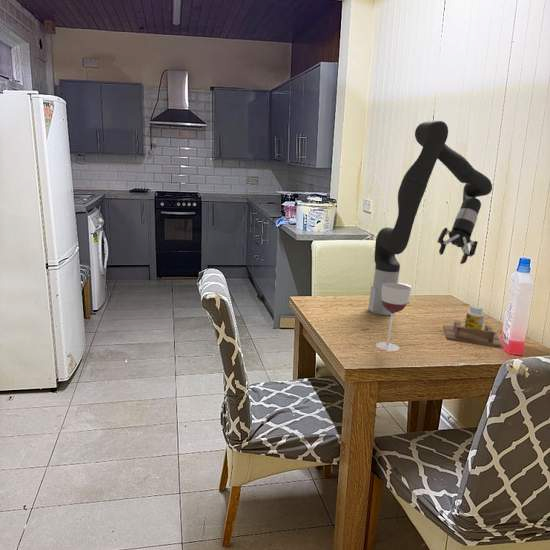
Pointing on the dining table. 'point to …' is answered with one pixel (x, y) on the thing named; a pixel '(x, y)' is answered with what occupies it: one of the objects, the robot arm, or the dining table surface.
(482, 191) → the robot arm
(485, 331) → the flat brown tray
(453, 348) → the dining table surface
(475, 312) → the supplement bottle
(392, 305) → the wineglass
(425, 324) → the dining table surface
